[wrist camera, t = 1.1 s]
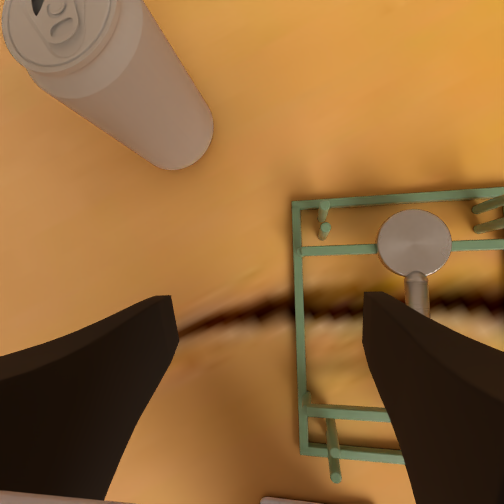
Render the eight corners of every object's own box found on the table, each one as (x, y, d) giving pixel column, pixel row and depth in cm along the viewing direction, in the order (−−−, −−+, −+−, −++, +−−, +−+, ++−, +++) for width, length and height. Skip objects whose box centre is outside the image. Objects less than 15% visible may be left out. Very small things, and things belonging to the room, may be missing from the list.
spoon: (462, 470, 16) (474, 485, 15) (386, 463, 17) (391, 477, 16) (444, 209, 17) (454, 204, 16) (373, 213, 18) (377, 209, 17)
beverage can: (202, 84, 24) (99, -98, 12) (227, 155, 23) (142, 35, 11) (134, 116, 25) (-23, -23, 13) (155, 185, 24) (9, 104, 12)
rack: (535, 471, 18) (609, 536, 14) (300, 450, 21) (297, 498, 16) (511, 188, 19) (571, 163, 15) (291, 202, 22) (287, 185, 17)
